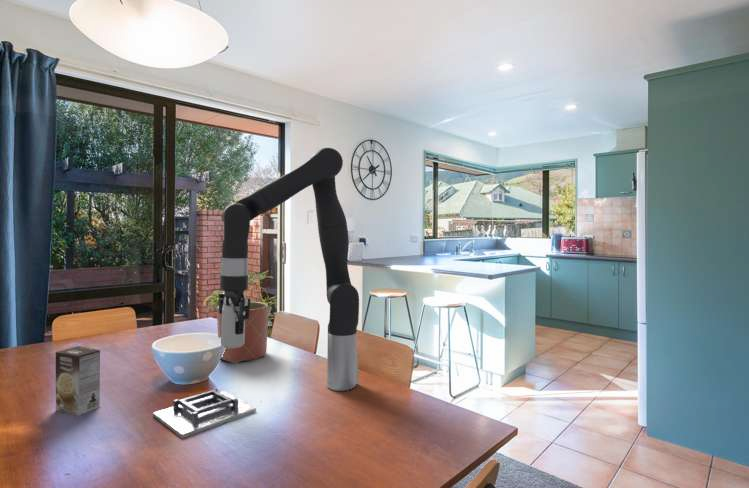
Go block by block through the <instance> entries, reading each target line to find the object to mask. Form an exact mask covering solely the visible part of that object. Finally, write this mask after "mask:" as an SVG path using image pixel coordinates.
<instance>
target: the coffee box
mask: <svg viewBox="0 0 749 488" xmlns="http://www.w3.org/2000/svg"><path fill="white" fill-rule="evenodd" d="M100 386H101V349H95V348H90V347H84V346H80V345H77V346H74V347H69V348H65V349H63V350H59V351H56V352H55V411H57V412H61V413H65V414H69V415H73V416H78V417H79V416H81V414H82V415H84V414H86V413H88V412H89V413H90V411H93V409H94V410H96V409H99V408H100V407H101V406H100V405H101V403H100V401H101V398H100V397H101V396H100V395H101V387H100Z"/></svg>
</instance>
